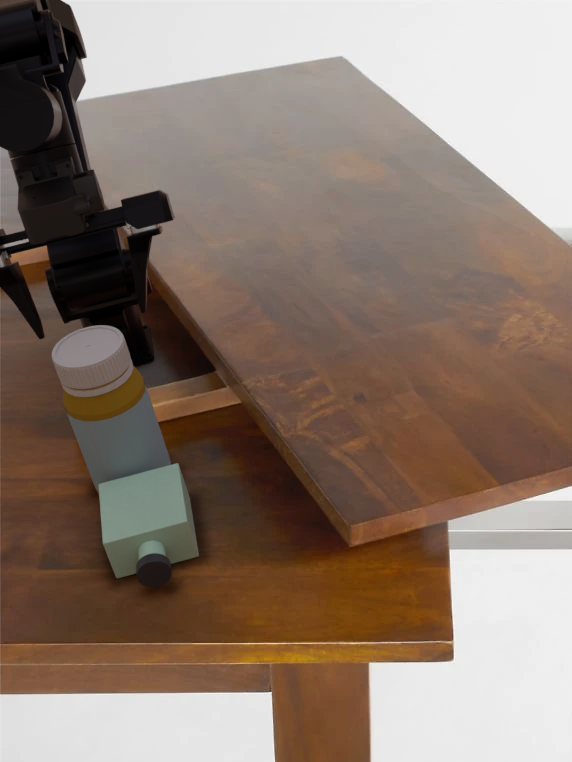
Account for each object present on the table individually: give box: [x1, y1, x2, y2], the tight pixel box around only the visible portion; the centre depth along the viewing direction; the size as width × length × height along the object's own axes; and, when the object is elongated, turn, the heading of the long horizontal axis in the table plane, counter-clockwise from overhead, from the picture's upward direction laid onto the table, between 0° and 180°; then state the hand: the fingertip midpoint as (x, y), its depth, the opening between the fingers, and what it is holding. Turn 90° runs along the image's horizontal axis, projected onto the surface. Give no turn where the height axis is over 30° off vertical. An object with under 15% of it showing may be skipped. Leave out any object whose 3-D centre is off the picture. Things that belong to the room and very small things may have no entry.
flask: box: [98, 462, 200, 588], centre depth 115 cm, size 11×7×4 cm, turn 13°
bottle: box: [51, 325, 172, 495], centre depth 120 cm, size 7×7×15 cm
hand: (93, 325), depth 123 cm, fingers open, 9 cm apart
